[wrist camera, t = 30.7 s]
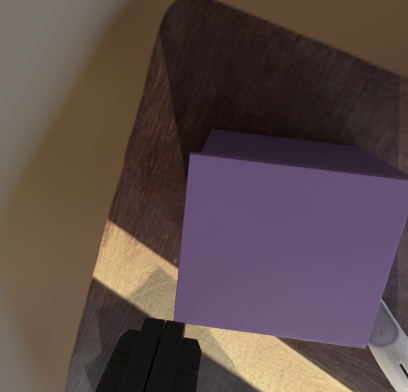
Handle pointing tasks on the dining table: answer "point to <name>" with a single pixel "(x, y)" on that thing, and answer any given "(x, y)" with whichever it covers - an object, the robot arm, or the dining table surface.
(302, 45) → the dining table surface
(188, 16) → the dining table surface
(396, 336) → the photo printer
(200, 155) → the lid
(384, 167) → the box
